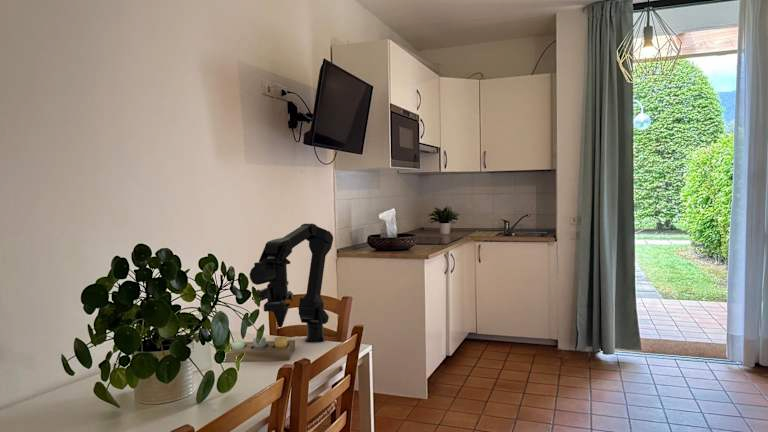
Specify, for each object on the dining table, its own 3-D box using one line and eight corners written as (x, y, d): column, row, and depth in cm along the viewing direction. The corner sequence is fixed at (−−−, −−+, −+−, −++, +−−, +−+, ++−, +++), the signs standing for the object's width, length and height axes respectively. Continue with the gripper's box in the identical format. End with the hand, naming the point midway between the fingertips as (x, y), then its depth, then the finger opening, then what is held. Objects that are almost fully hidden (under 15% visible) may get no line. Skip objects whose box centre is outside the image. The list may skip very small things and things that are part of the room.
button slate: (255, 349, 177) (254, 337, 176) (267, 348, 177) (266, 336, 176) (252, 352, 173) (251, 340, 172) (264, 352, 173) (264, 340, 172)
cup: (215, 363, 168) (213, 312, 168) (204, 371, 160) (201, 318, 159) (190, 363, 169) (188, 312, 168) (178, 371, 161) (175, 319, 160)
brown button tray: (232, 351, 181) (232, 342, 181) (295, 349, 181) (294, 340, 181) (222, 362, 169) (222, 353, 169) (289, 360, 169) (288, 350, 169)
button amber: (276, 348, 177) (275, 336, 176) (288, 348, 177) (288, 336, 176) (273, 352, 173) (273, 340, 172) (286, 351, 173) (285, 339, 172)
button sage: (234, 352, 177) (233, 340, 176) (246, 352, 177) (245, 340, 176) (230, 356, 173) (230, 344, 172) (243, 356, 173) (242, 343, 172)
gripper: (260, 275, 183) (262, 320, 184) (246, 285, 164) (248, 335, 165) (292, 274, 183) (294, 319, 184) (282, 284, 164) (284, 334, 165)
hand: (280, 327), depth 174 cm, fingers closed
